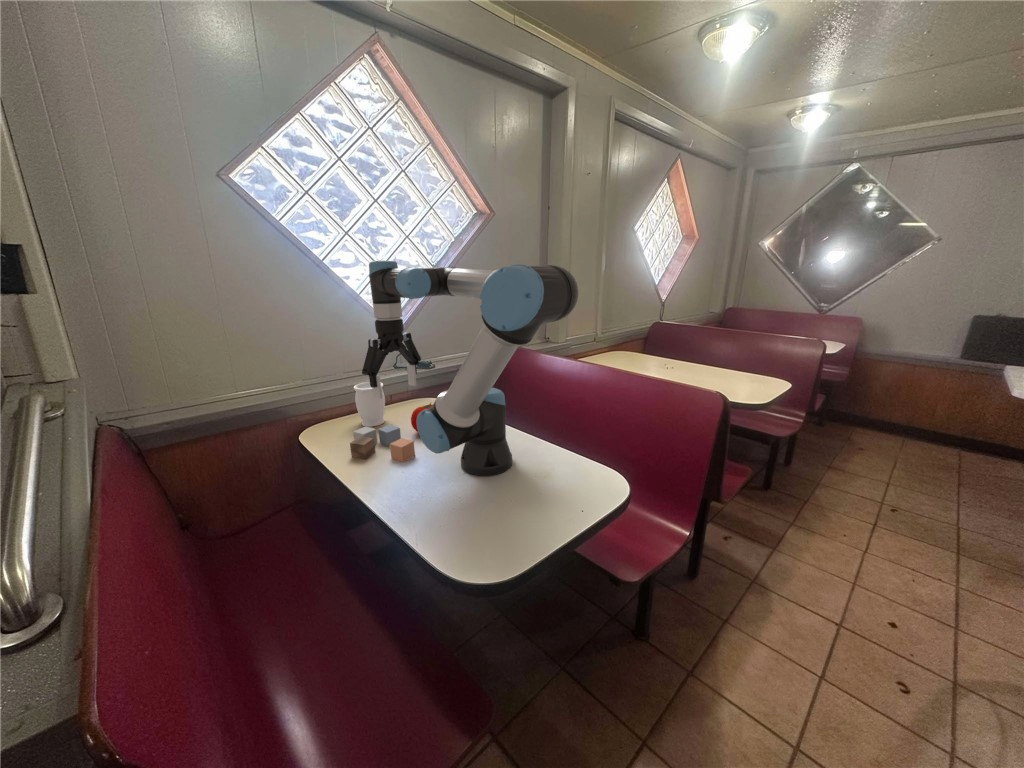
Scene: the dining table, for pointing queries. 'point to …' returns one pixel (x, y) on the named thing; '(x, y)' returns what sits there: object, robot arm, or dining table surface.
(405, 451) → the terracotta cube
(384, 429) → the slate cube
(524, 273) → the robot arm
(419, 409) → the tomato
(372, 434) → the grey cube
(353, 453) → the walnut cube
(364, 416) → the jar
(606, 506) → the dining table surface
